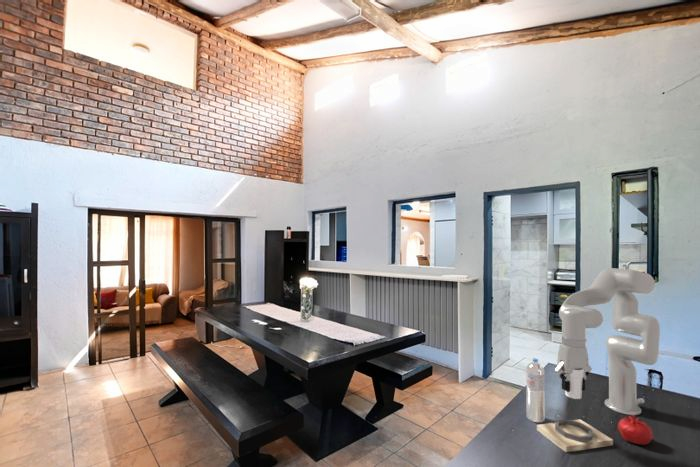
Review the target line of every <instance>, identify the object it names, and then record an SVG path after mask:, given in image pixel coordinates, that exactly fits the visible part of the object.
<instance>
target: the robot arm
mask: <svg viewBox="0 0 700 467" xmlns="http://www.w3.org/2000/svg"><path fill="white" fill-rule="evenodd" d="M655 285H656V283H655V279H654V277H653V276H652V275H651V274H649V273H646V272H643V271H640V270H635V269H627V268H614V267H606V268H604V269H602V270H601V271H600V272H598V274H597V276H596V277H595V278H594V280H593V282H591V284H590V285H589V286H588V287H586V288H585V289H584V288H583V289H581V290H578V291H576V292H574V293H572V294H570V295H569V296H568V297H566V299H565V300H564V301H563V303H562V304H561V306H560V308H559V310H558V317H559V319H560V320H561V344H559V348H558V351H557V360H556V367H555V369H554V372H555V373H556V375H558V376H559V378H560V379H561V389H562V390H563V391H564V392H565V391H567V392H570V381H568V380H569V377H570V374H572V372H573V370H582V369H584V373H583V380H582V392H584V391H586V380H587V379H588V375H589V374H590V373H591V371H592V369H593V368H592V366H591V365H589V355H588V354H589V353H588V350H587V349H588V348H587V346H586V342H587V338H586V329H596V328H599V327H600V326H601V325H602V323H603V320H604V318H603V314H602V312H601V311H599V310H598V309H595V308H592V307H588V306H598V305H602V304H603V305H604V304H607V303H609V302H611V300H612V299H613V310H612V328H613V329H614V330H615V331H616V332H619V333H622V334H626V335H631V336H637V337H640V338H642V339H638V338H634V337H629V336H624V335H620V334H619V335H618V334H612V335H610V336H608V337H607V339H606V341H605V347H606V351H607V356H608V398H607V399H605V400H604V405H605V406H606V407H607V408H609V409H610V410H612V411H614V412H616V413H620V414H624V415H627V416H631V415H634V416H639V415H640V414H641V413H642V408H640V406H639V405H640V404H644V403H645V399H644V398H637V369H636V366H635V364H634V362H635V363H638V364H643V365H647V366H653V365H655V364H656V363H657V361H658V359H659V349H660V335H661V334H660V332H661V328H660V327H661V326H660V322H659V320H658V319H657V318H656V317H655V316H652V315H648V314H642V313H639V300H638V298H637V297H636V295H635V294H634V293H636V294H643V295H647V294H650V293H652V292H653V291H654V289H655V287H656V286H655ZM564 369H565V371H564ZM565 373H566V377H565Z"/></svg>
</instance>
